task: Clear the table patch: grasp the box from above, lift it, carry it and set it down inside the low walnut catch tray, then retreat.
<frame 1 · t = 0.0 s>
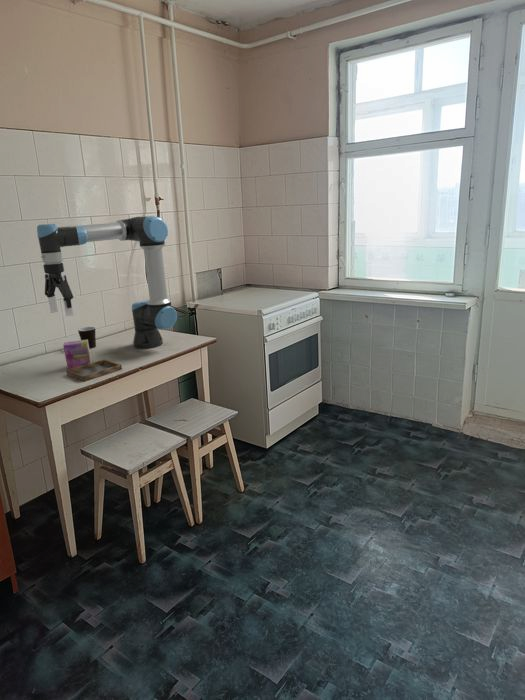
hand: (61, 313, 208), 28 cm above the table, fingers open, 13 cm apart
catch tray: (94, 372, 220), on the table
box: (80, 366, 230), on the table
coffee mug: (90, 346, 263), on the table
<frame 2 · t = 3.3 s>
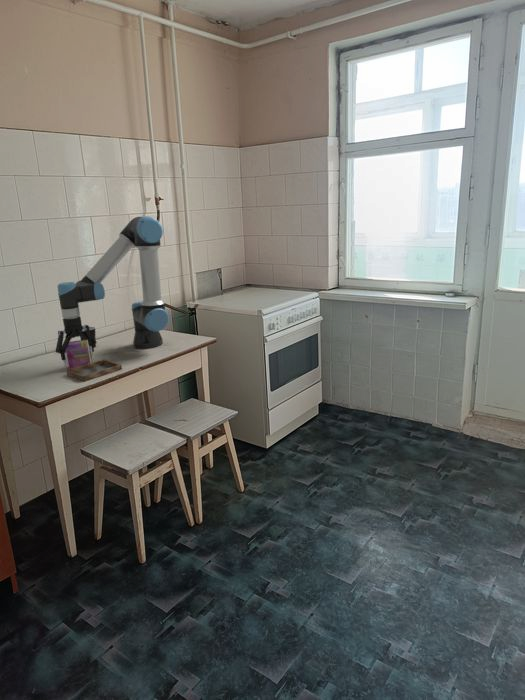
hand: (79, 362, 229), 2 cm above the table, fingers closed on box, 12 cm apart
box: (80, 366, 230), on the table, touching gripper
everything else where it was.
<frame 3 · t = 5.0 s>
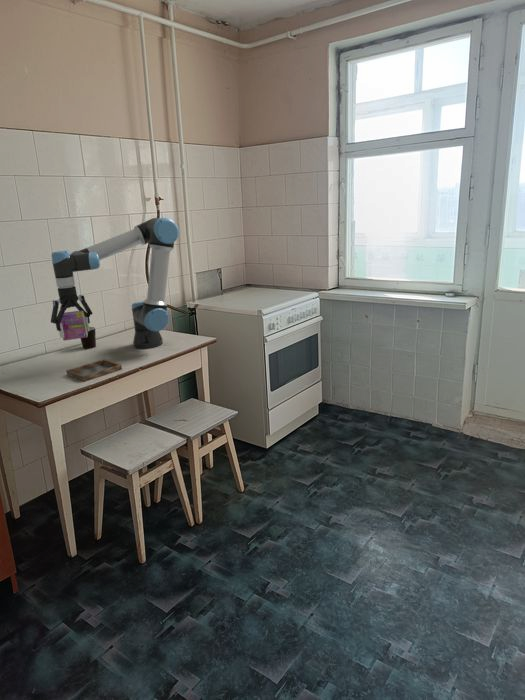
hand: (75, 334, 226), 16 cm above the table, fingers closed on box, 12 cm apart
box: (75, 338, 226), point 14 cm above the table, touching gripper
everything else where it was.
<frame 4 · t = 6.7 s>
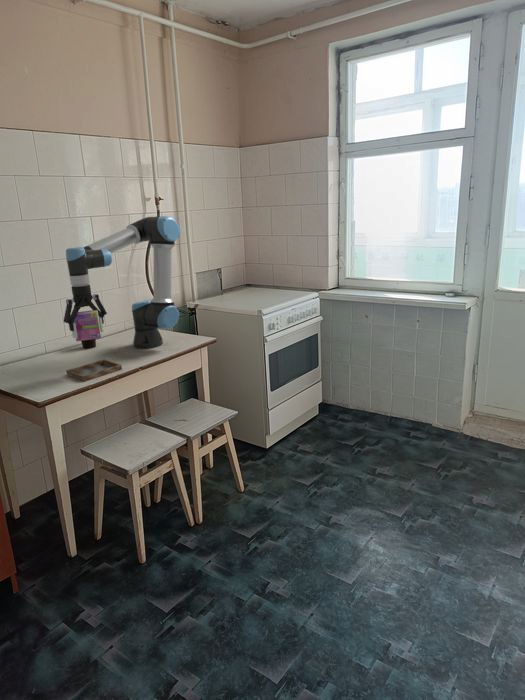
hand: (88, 334, 215), 17 cm above the table, fingers closed on box, 12 cm apart
box: (89, 339, 216), point 15 cm above the table, touching gripper
everything else where it was.
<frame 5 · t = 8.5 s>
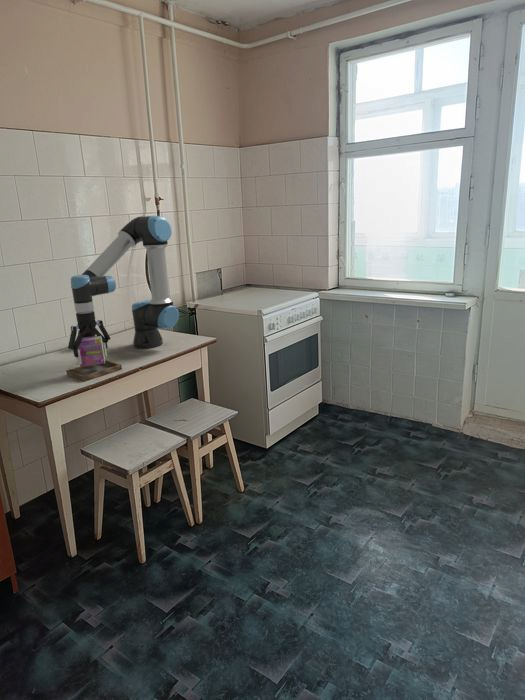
hand: (92, 360, 219), 6 cm above the table, fingers closed on box, 12 cm apart
box: (93, 364, 219), point 4 cm above the table, touching gripper
everything else where it was.
when the fingers open (3 cm above the table, at t = 10.2 s): box drops 1 cm, resting on catch tray.
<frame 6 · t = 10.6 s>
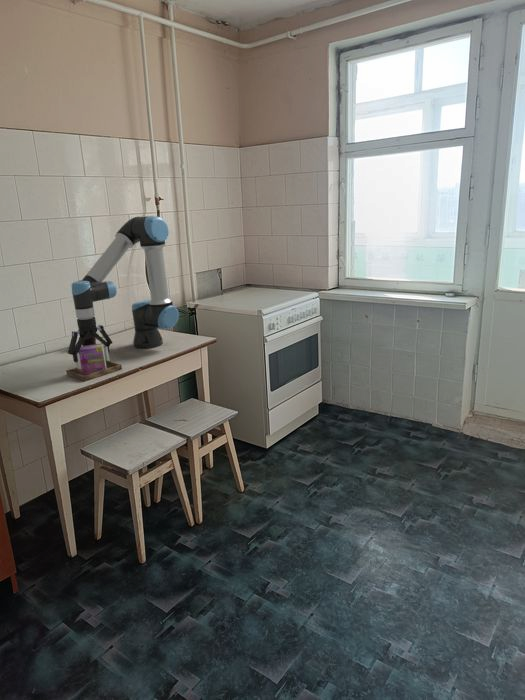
hand: (93, 364, 219), 4 cm above the table, fingers open, 13 cm apart
box: (94, 372, 220), resting on catch tray
everything else where it was.
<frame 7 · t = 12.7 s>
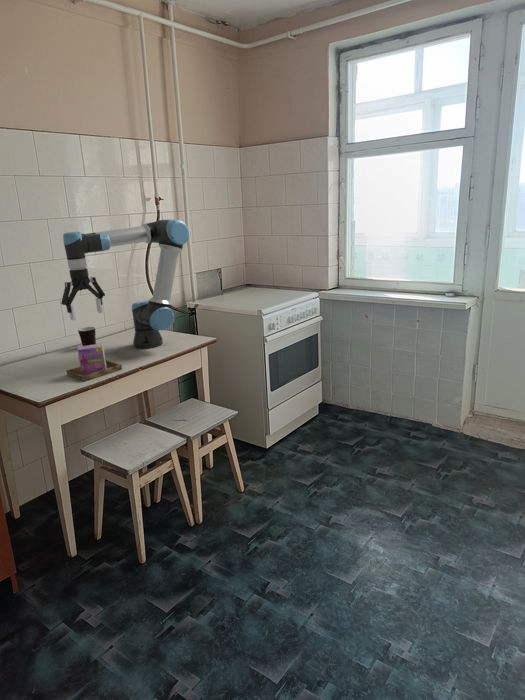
hand: (87, 316, 222), 24 cm above the table, fingers open, 13 cm apart
nothing on the table moved.
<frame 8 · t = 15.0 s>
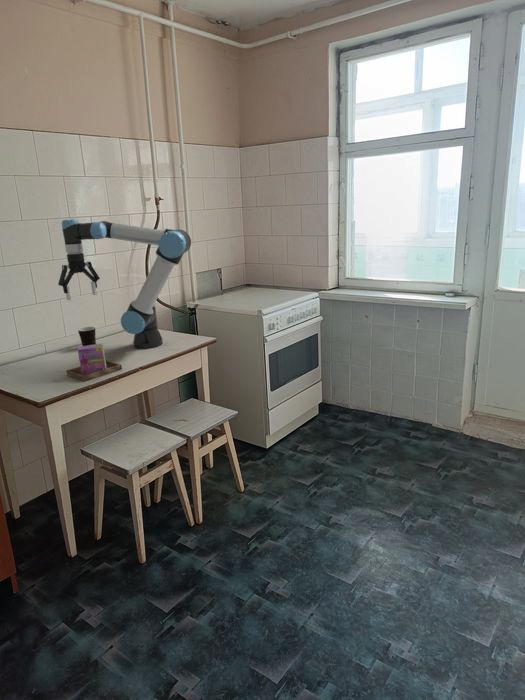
hand: (82, 297, 241), 29 cm above the table, fingers open, 13 cm apart
nothing on the table moved.
at the end: box inside the target area on the catch tray (0.0 cm from its centre), point 0.1 cm above the catch tray's base; box tilted 0°; the gripper is holding nothing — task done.
